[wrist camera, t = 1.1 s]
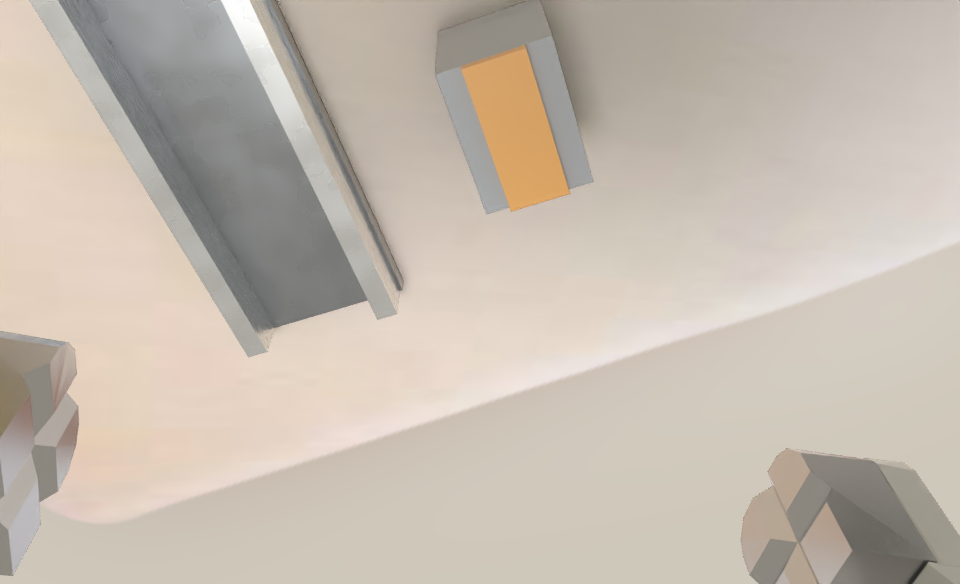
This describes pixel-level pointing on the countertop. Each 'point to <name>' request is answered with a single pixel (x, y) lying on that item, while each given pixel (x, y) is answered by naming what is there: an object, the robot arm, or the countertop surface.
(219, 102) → the rail
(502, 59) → the module
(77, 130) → the countertop surface
